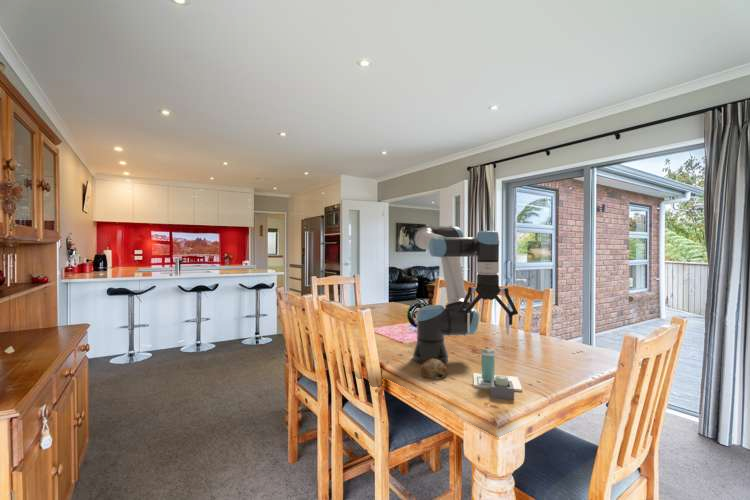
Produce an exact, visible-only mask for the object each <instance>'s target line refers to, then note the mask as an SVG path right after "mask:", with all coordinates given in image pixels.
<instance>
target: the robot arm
mask: <svg viewBox="0 0 750 500" xmlns="http://www.w3.org/2000/svg"><path fill="white" fill-rule="evenodd" d="M413 243H414V244H415V246H416V247H417V248H419V249H421V250H428V251H429V255H430V256H431V257H436V258H441V259H440V260H441V264H442V272H443V278H444V286H445V292H446V297H447V298H446V299H447V302H446V304H445V307H444V305H442V304H441V305H440V304H432V305H425V306H422V307H420V308H418V310H417V312H416V313H417V315H416V329H417V330H416V335H417V336H416V344H415V348H414V351H413V353H412V359H413V361H414V362H416V363H419V364H421V365H423V363H424V362H426V361H427V360H429V359H438V360H440V361H442V363H443V364H444V365H445V364H446V363H447V362H448V361H449V355H448V350H447V348H446V346H445V341H444V340H445V336H467V335H474V334H475V333H476V332H477V329H478V327H479V318H480V317H479V312H478V309H476V307H474V306H475V305H477V304H478V302H479V301H480V300H484V301H486V300H489V301H493V300H494V299H495V301H496V302H497V303H498V304H499V305H500V306H501V308H503V310H504V311H505V312H506V315H505V333H506V335H507V336H509V335H510V326H512V325H513V316H515V315H518V310H517V307H516V306H515V304H514V301H513V300H512V298H511V296H510V294H509V288H508V287H506V286H505V287H500V283H499V282H500V278H499V277H500V276H499V273H500V270H499V269H500V267H499V266H500V264H499V263H500V262H499V261H500V259H499V258H500V252H499V251H500V236H499V232H498V231H496V230H481V231H478V232H476V236H475V237H473V236H472V237H471V236H470V237H469V236H468V237H466V236H464V233H463V231H462V229H461V228H460V227H458V226H453V225H448V226H447V225H446V226H443V225H440V226H439V225H437V226H436V225H433V226H432V225H428V226H423V227H421V228H419V229H418V230H417V231H416V232H415V233H414V235H413ZM461 257H462V258H465V257H467V258H469V257H471V258H472V257H475V258H476V273H477V275H476V286H475V287H474V286H472V285H471V286H468V288H467V292H466V288H465V282H464V276H463V271H462V266H461V259H460V258H461ZM474 292H476V293H477V296H475V298H474V299H473V300H472V301H469V299H470V297H471V295H472V294H473V293H474ZM500 293H502V295H504V296H505V298H506V301H507V302H508V305H509V306H510V308H511V310H510V309H509V308H508V307H507V305H506V304H505V303H504V302H503V300H502V299H501V298H500V297H499V296H498V295H499V294H500Z"/></svg>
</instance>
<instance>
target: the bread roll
mask: <svg viewBox="0 0 750 500" xmlns="http://www.w3.org/2000/svg"><path fill="white" fill-rule="evenodd" d="M420 372H421V373H420V374H421V375H422V376H423V377H424V378H426V379H430V380H431V379H432V380H441V379H444V378H446V377H447V375H448V368H447V365H445V363H444V364H443V363H442V361H440V360H438V359H429V360H427V361H426V362H424V363H423V364H421V367H420Z"/></svg>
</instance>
